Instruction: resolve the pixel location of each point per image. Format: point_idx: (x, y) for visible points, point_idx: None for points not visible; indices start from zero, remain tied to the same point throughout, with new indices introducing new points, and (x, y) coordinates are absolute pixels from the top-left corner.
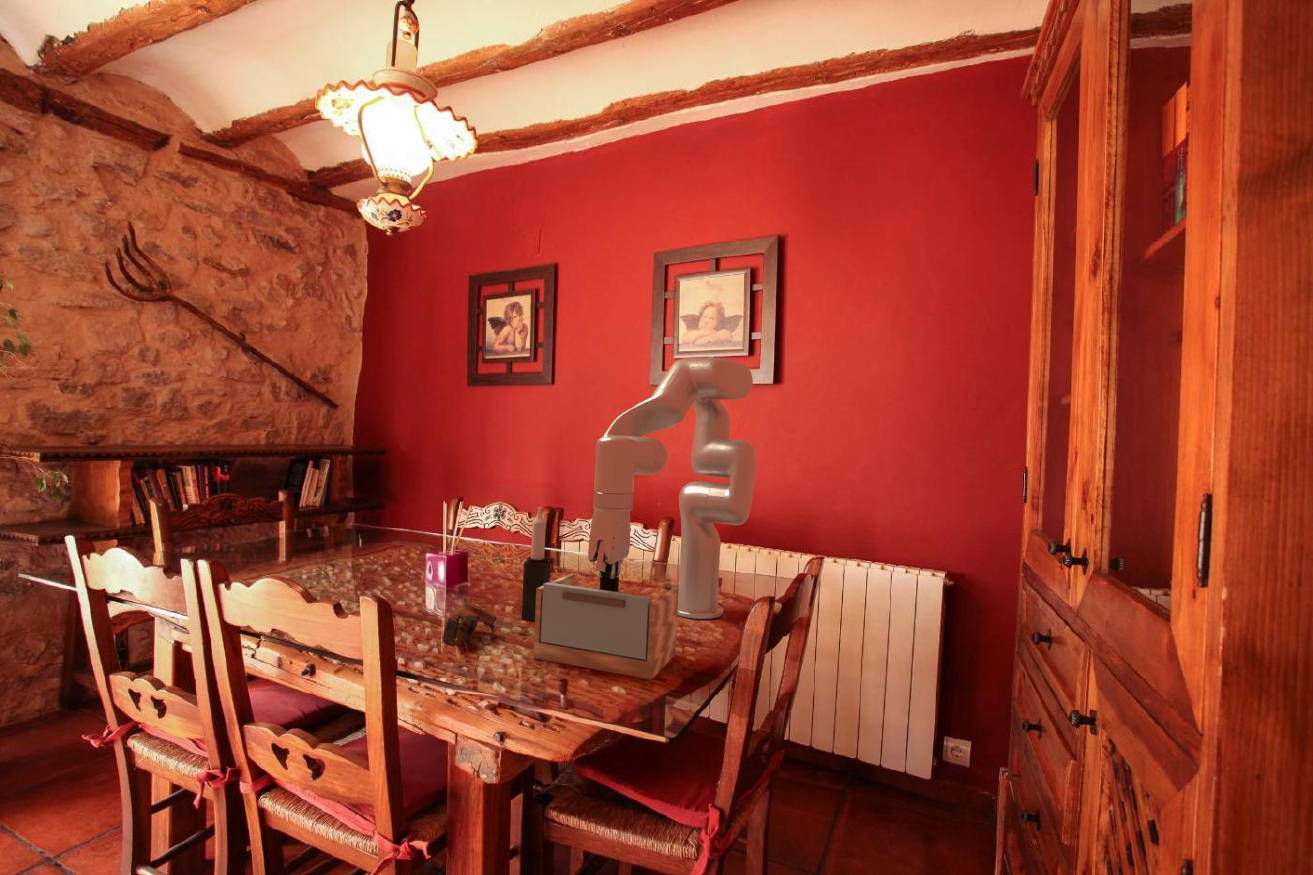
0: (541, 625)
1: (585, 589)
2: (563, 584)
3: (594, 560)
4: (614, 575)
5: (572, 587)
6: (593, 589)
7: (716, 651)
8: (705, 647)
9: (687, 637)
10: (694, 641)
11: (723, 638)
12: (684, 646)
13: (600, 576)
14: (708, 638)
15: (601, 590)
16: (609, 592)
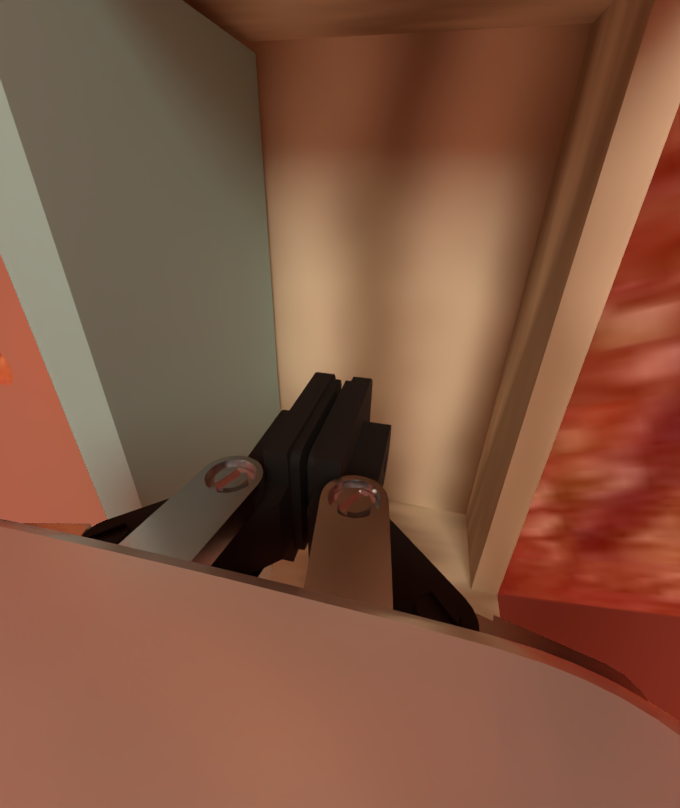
0: (195, 9)
1: (56, 378)
2: (15, 122)
3: (61, 532)
4: (265, 569)
5: (17, 265)
6: (96, 424)
7: (534, 578)
8: (563, 558)
9: (666, 519)
10: (620, 536)
11: (668, 601)
12: (560, 513)
13: (217, 467)
14: (662, 569)
15: (116, 470)
16: (117, 513)
